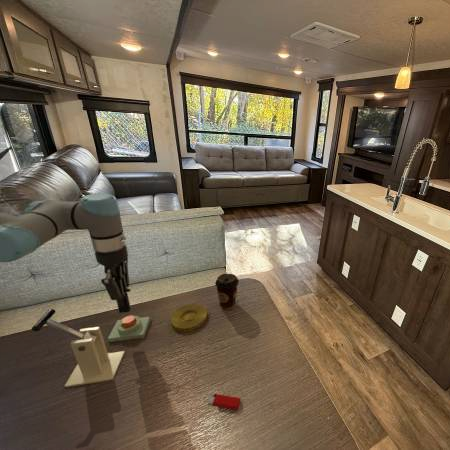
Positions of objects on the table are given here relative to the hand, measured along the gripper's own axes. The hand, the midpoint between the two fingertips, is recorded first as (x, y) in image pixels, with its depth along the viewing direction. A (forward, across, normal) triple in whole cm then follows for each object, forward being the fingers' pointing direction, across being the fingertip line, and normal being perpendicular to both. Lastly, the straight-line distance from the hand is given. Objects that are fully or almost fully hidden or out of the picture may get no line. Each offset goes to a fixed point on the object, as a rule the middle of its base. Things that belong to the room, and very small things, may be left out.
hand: (125, 310), depth 80 cm
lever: (-6, -13, +8) cm, 17 cm away
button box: (+9, 0, 0) cm, 9 cm away
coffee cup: (+9, +9, -32) cm, 34 cm away
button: (+6, 0, 0) cm, 6 cm away
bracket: (+9, -13, +4) cm, 17 cm away
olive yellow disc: (+9, +2, -18) cm, 21 cm away
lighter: (+9, -30, -32) cm, 44 cm away
